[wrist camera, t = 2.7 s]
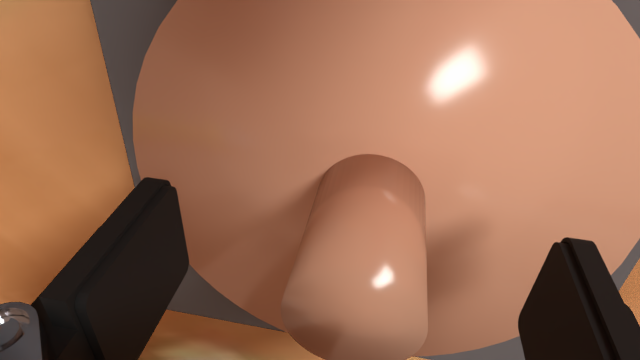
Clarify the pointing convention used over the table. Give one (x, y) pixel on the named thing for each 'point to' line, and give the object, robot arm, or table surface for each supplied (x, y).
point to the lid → (392, 158)
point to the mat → (123, 71)
